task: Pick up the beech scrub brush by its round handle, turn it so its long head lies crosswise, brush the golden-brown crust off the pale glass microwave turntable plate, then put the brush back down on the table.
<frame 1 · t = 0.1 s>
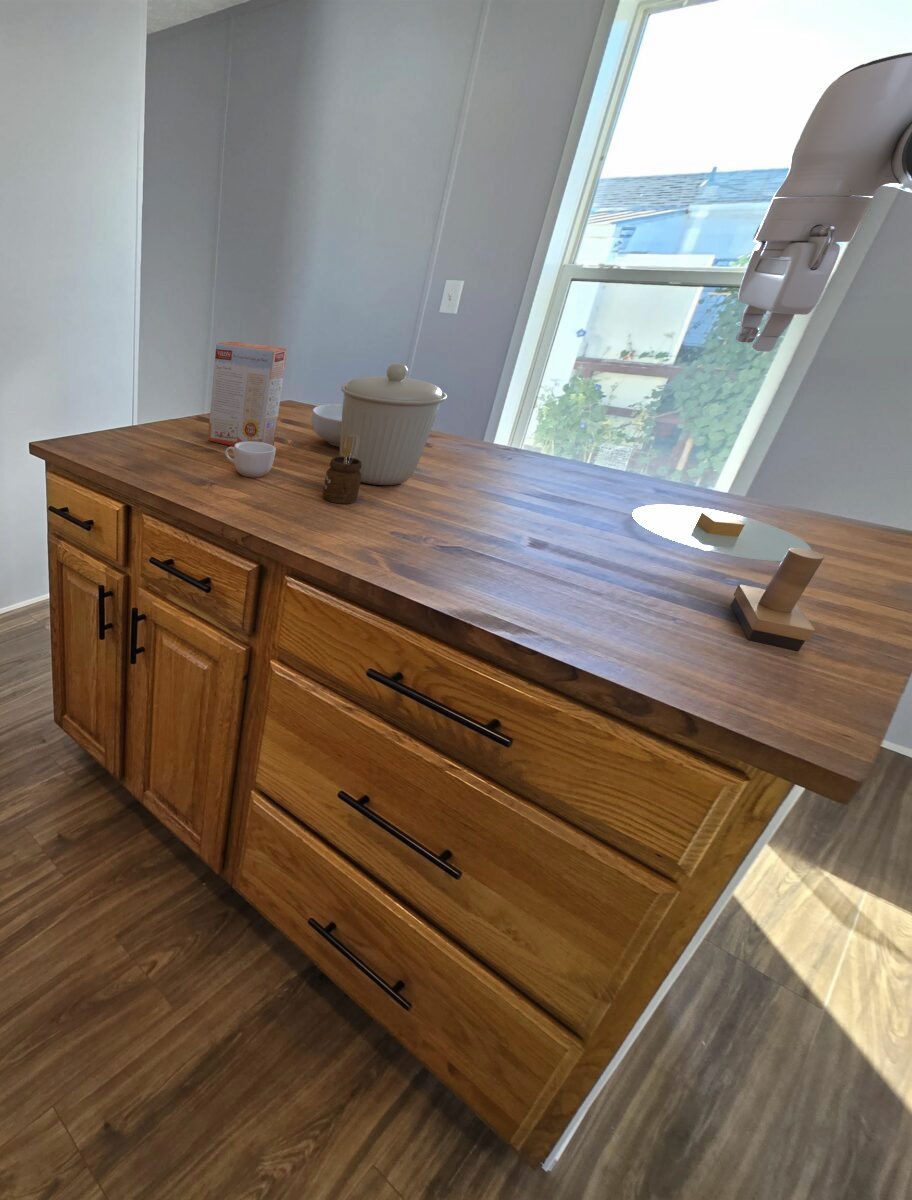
hand: (751, 346, 87), 29 cm above the counter, tool pointing down, fingers open, 8 cm apart
utensil holder: (338, 500, 116), on the counter
canister: (373, 478, 127), on the counter
turntable: (712, 538, 103), on the counter
brush: (762, 627, 80), on the counter
cereal bowl: (345, 444, 147), on the counter
teacup: (246, 473, 128), on the counter
cracker box: (240, 445, 145), on the counter
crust: (716, 530, 103), point 1 cm above the counter, touching turntable
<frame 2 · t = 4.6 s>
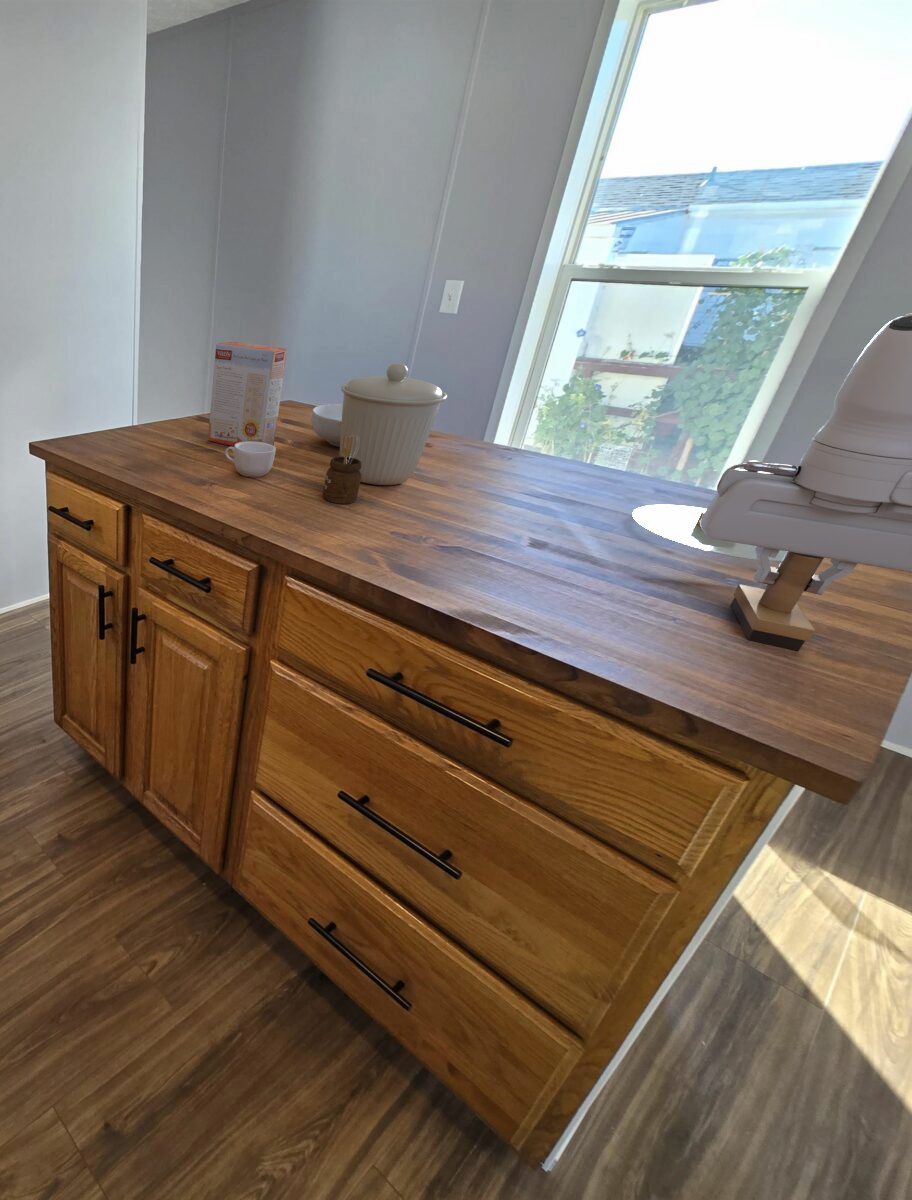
hand: (786, 586, 77), 6 cm above the counter, tool pointing down, fingers closed on brush, 3 cm apart
brush: (762, 627, 80), on the counter, touching gripper
everything else where it was.
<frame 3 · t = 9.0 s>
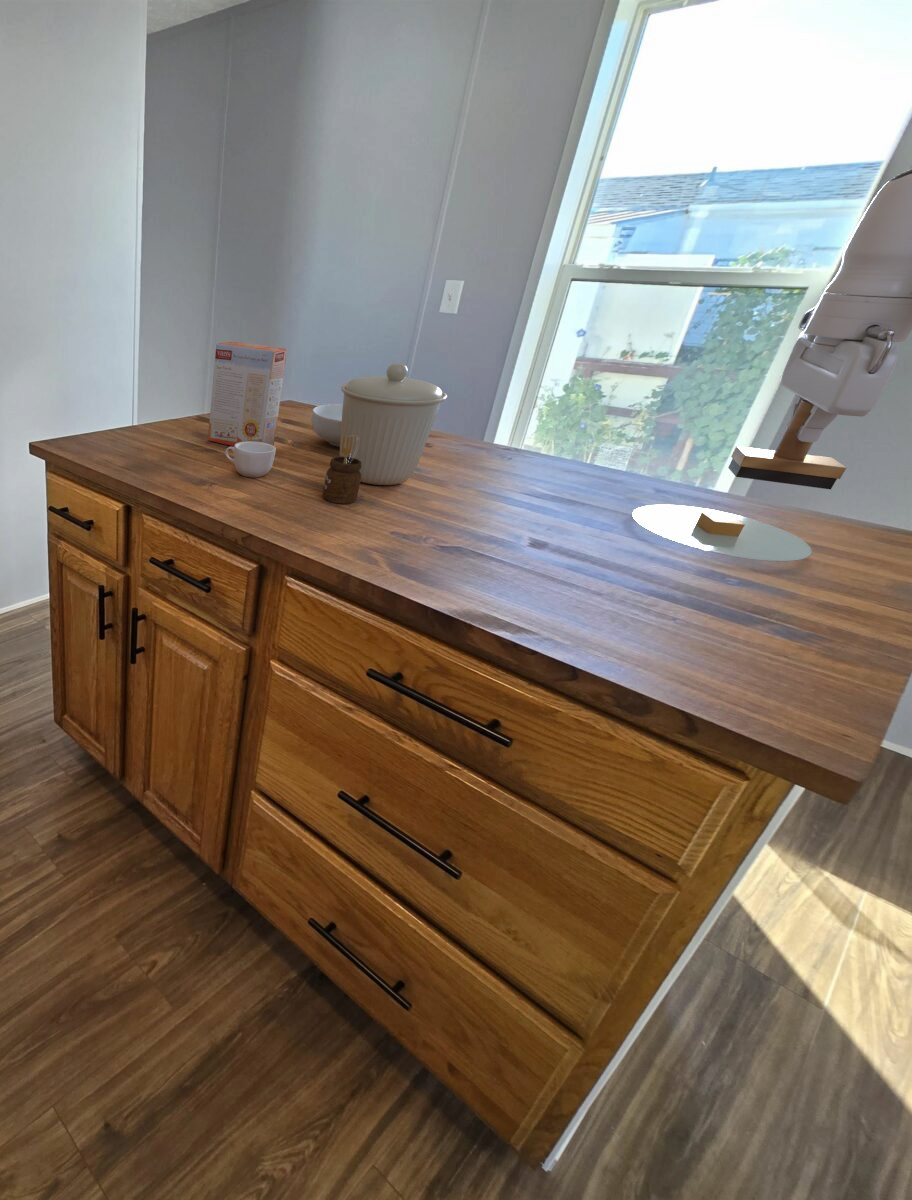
hand: (799, 436, 85), 19 cm above the counter, tool pointing down, fingers closed on brush, 3 cm apart
brush: (777, 478, 88), point 13 cm above the counter, touching gripper
everything else where it was.
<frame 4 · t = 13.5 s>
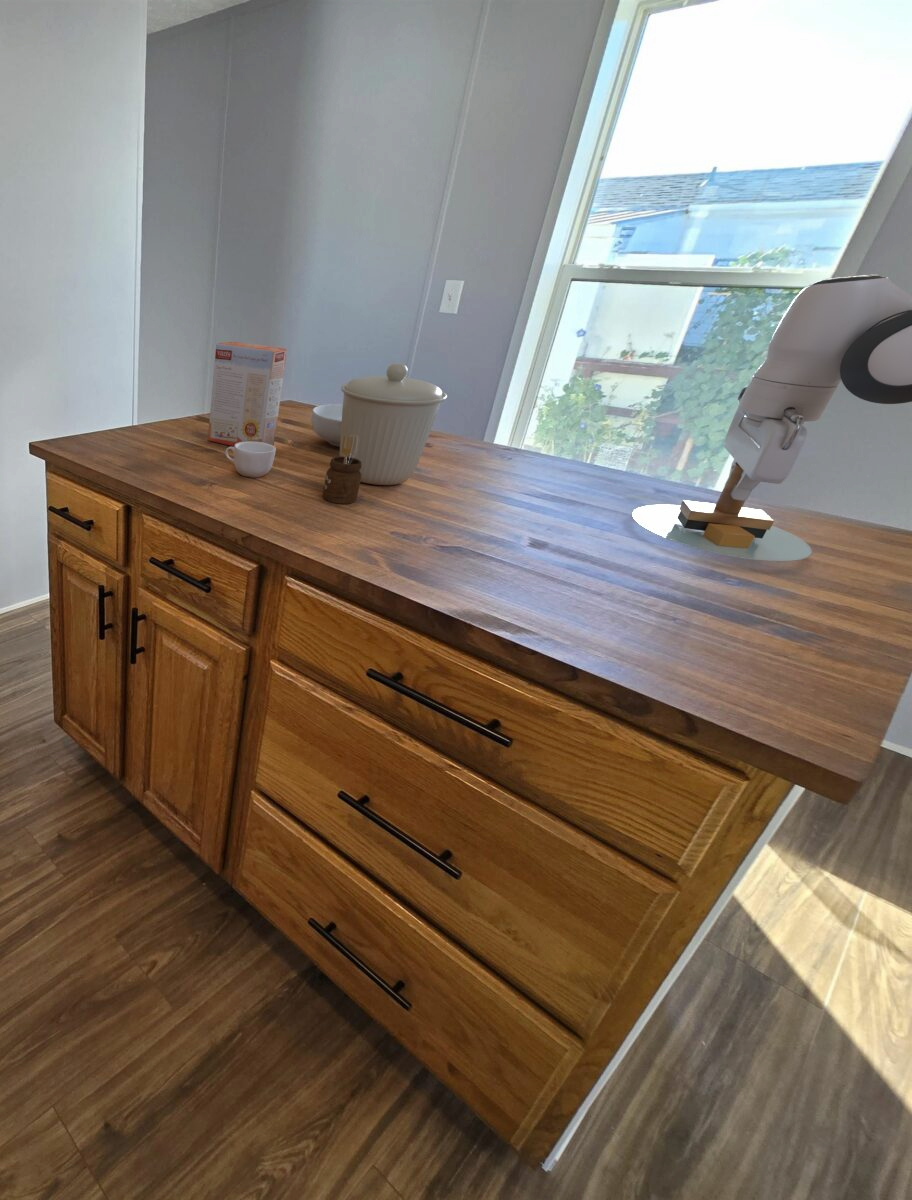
hand: (734, 494, 99), 8 cm above the counter, tool pointing down, fingers closed on brush, 3 cm apart
brush: (718, 528, 102), point 2 cm above the counter, touching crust, gripper
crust: (725, 541, 99), point 2 cm above the counter, touching brush, turntable
everything else where it was.
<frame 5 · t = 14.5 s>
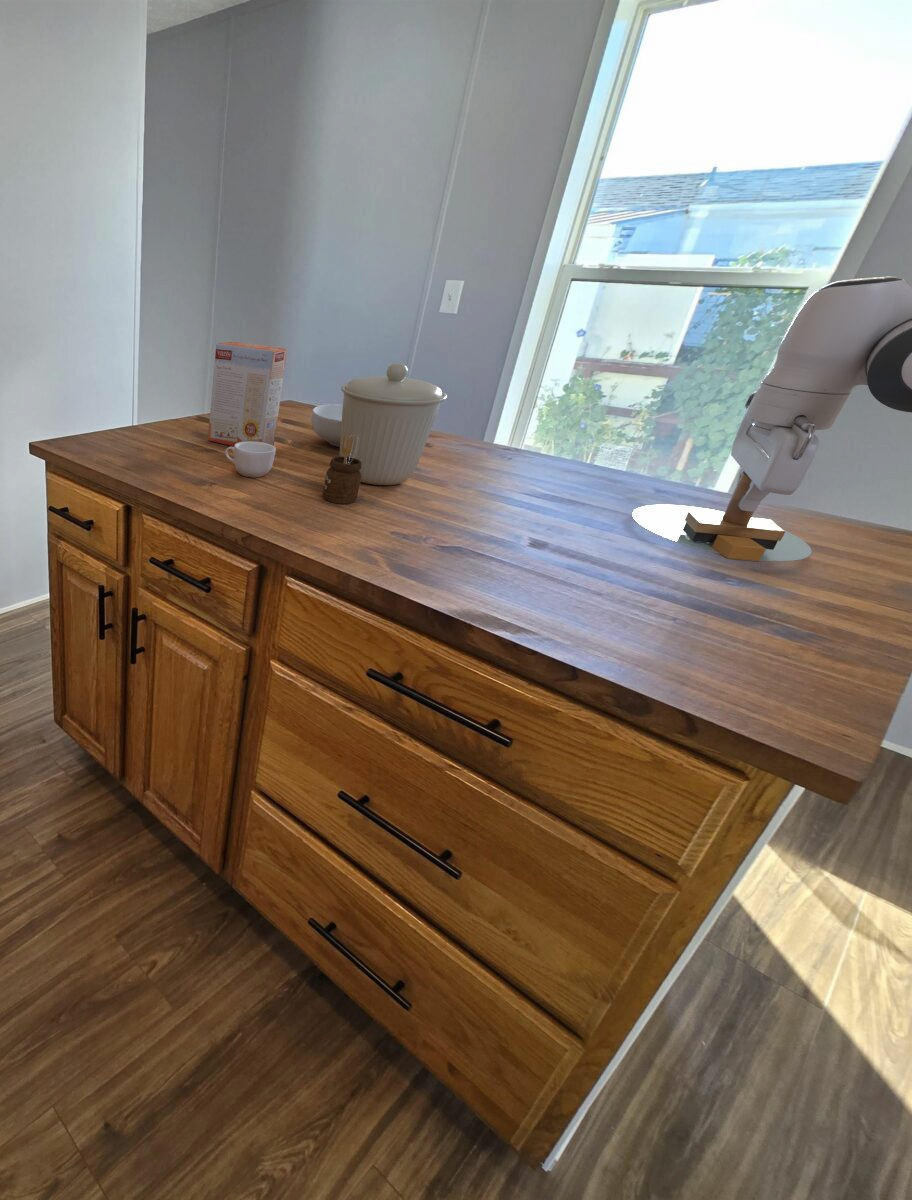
hand: (742, 504, 96), 7 cm above the counter, tool pointing down, fingers closed on brush, 3 cm apart
brush: (726, 539, 98), point 2 cm above the counter, touching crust, gripper
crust: (734, 554, 95), point 1 cm above the counter, touching brush, turntable
everything else where it was.
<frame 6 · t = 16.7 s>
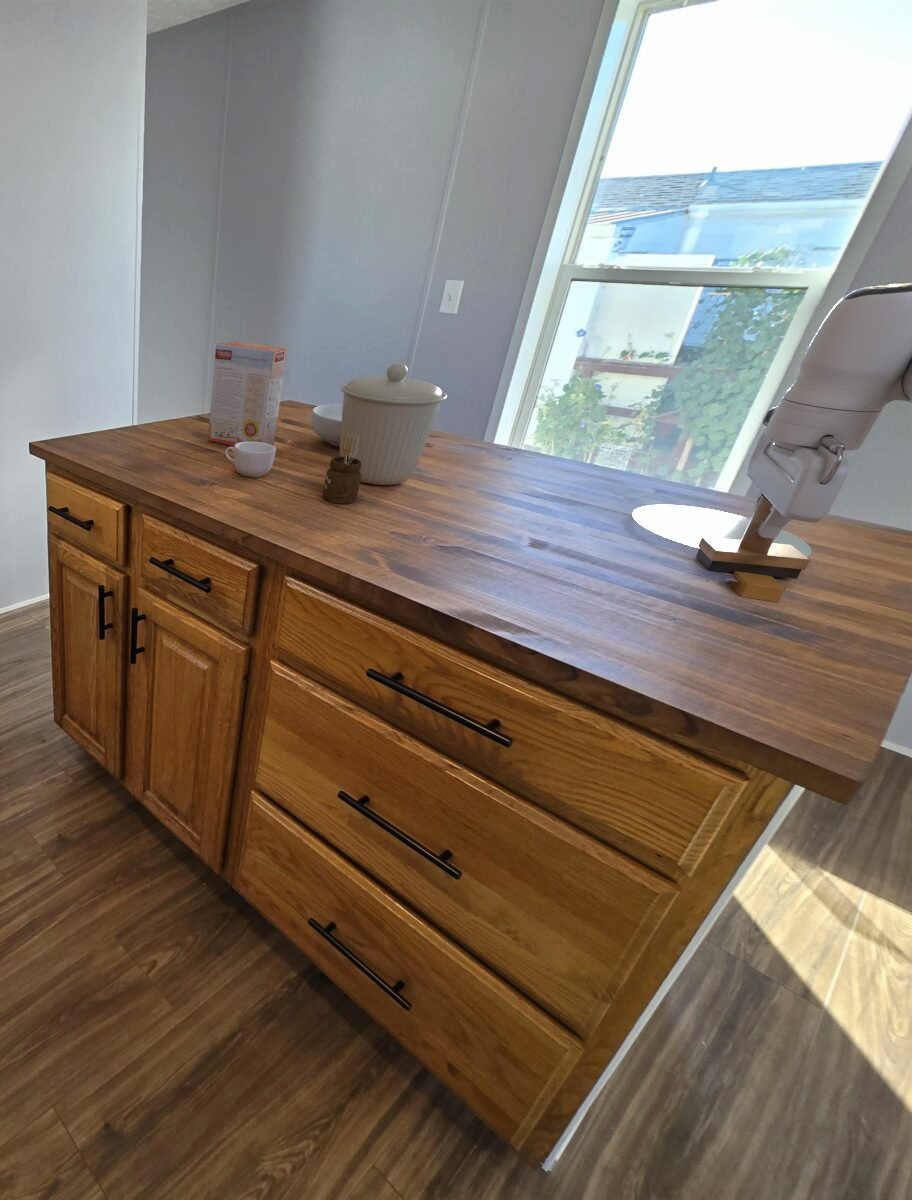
hand: (761, 530, 88), 7 cm above the counter, tool pointing down, fingers closed on brush, 3 cm apart
brush: (744, 567, 90), point 2 cm above the counter, touching gripper
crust: (752, 592, 88), on the counter
everything else where it was.
when the fingers open (5 cm above the counter, at t = 22.8 s): brush stays where it is, on the counter.
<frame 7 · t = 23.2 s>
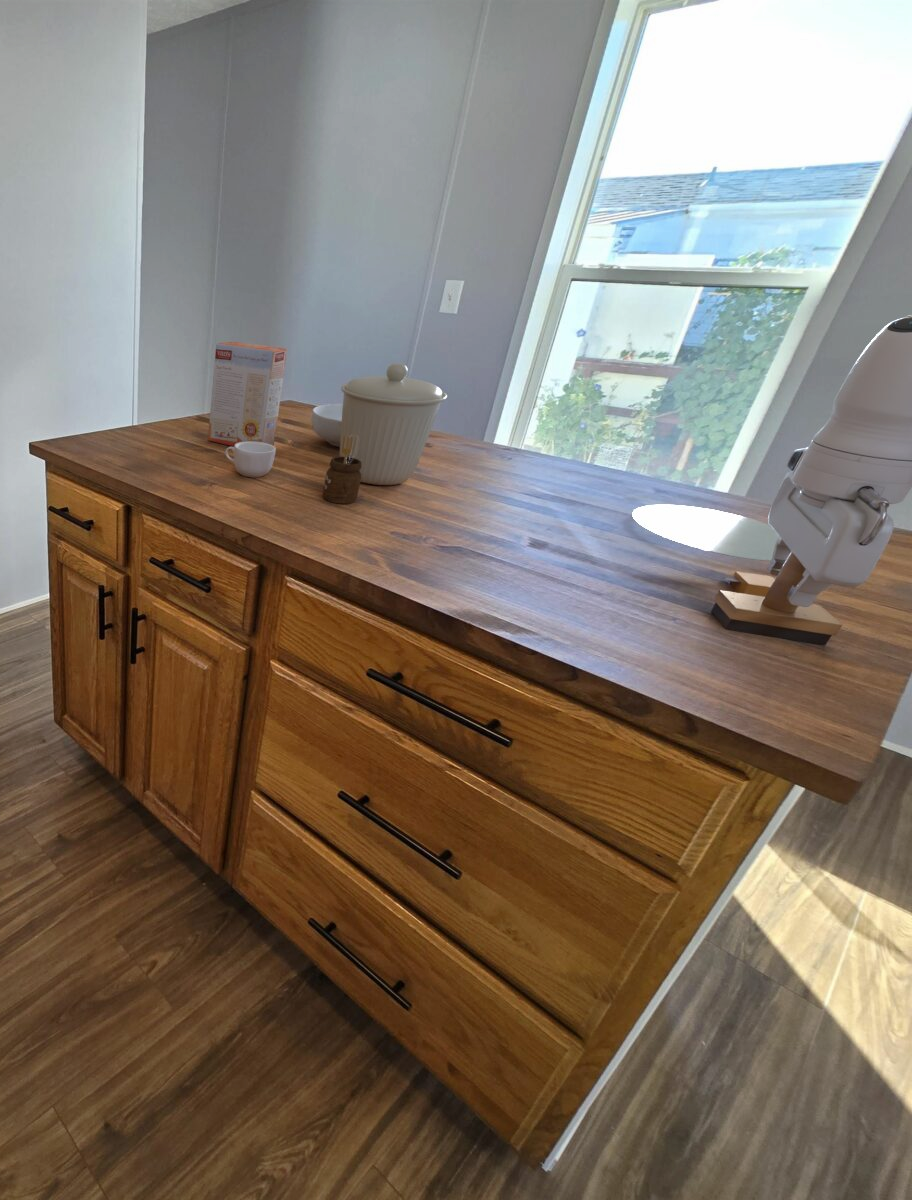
hand: (785, 588, 77), 5 cm above the counter, tool pointing down, fingers open, 7 cm apart
brush: (765, 627, 80), on the counter
everything else where it was.
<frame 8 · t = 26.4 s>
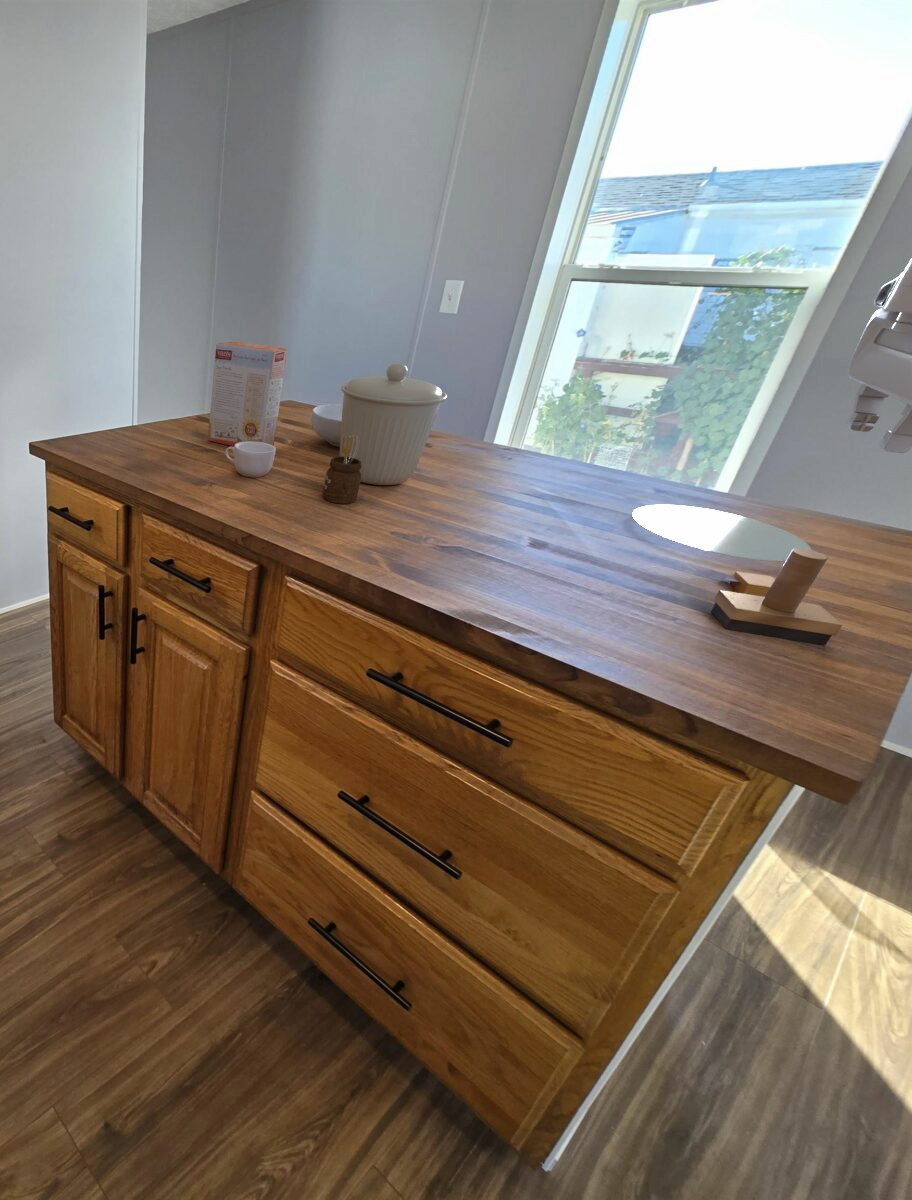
hand: (873, 439, 68), 23 cm above the counter, tool pointing down, fingers open, 8 cm apart
nothing on the counter moved.
at the end: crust inside the target area (1.2 cm from its centre), on the counter; brush inside the target area (0.3 cm from its centre), on the counter; the gripper is holding nothing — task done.
